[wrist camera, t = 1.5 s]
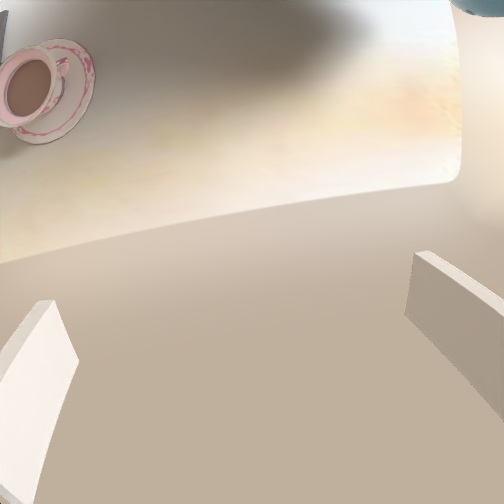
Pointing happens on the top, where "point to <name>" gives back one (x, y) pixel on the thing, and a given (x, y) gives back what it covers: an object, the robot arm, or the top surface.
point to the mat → (2, 29)
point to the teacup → (45, 90)
